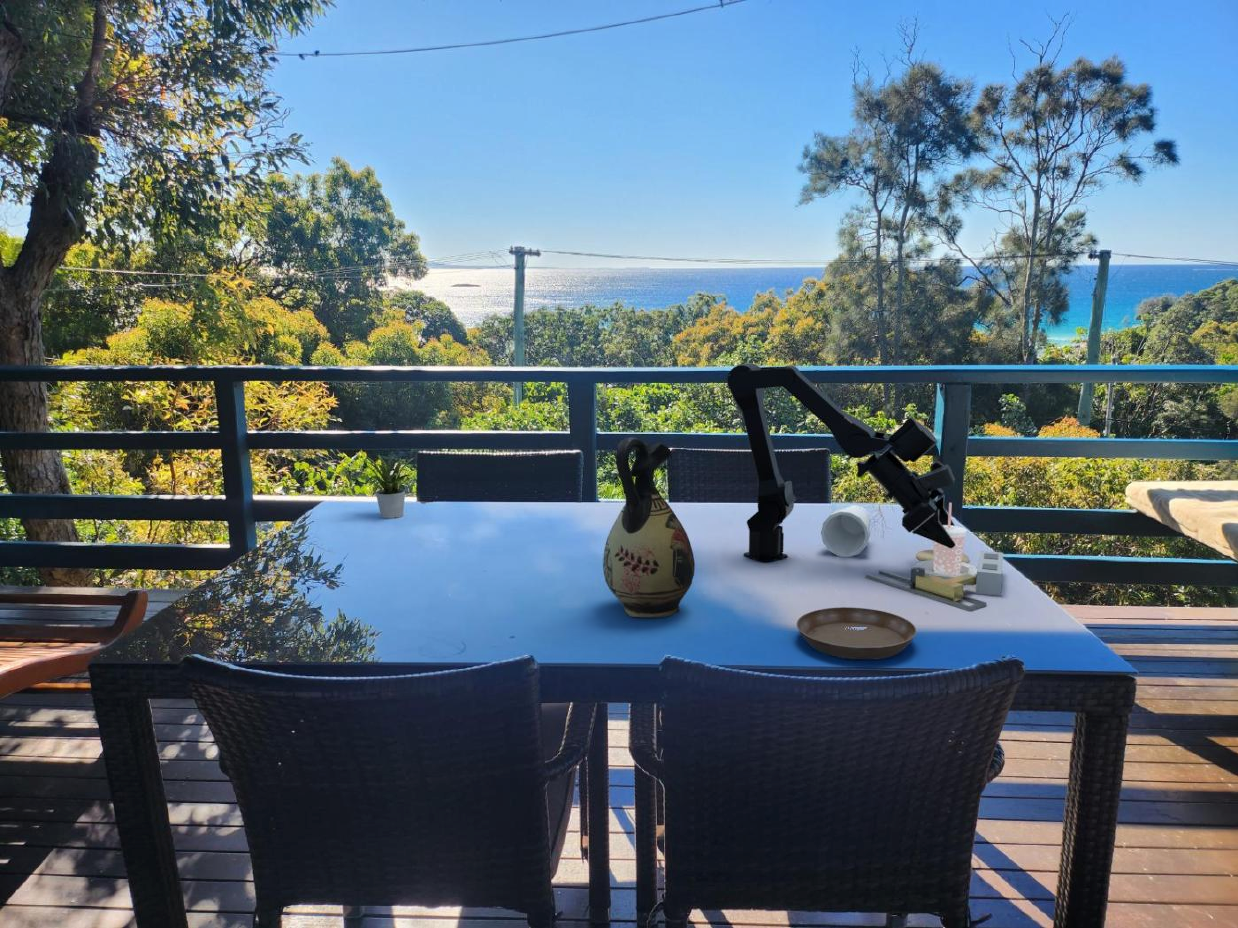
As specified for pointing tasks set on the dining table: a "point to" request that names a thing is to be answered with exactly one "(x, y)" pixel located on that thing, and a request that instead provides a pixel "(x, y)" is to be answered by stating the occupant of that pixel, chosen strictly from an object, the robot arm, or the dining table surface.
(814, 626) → the plant saucer
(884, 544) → the dining table surface
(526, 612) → the dining table surface
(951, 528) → the beverage cup
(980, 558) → the socket
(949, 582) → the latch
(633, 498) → the ceramic jug
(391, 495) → the house plant
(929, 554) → the coaster
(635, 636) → the dining table surface
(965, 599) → the rail
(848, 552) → the foam cup
